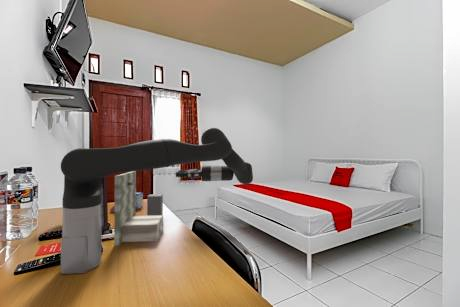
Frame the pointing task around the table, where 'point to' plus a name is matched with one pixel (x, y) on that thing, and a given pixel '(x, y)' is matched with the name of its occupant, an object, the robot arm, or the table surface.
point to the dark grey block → (155, 204)
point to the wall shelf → (132, 214)
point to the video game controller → (112, 209)
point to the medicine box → (139, 200)
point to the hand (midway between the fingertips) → (177, 173)
